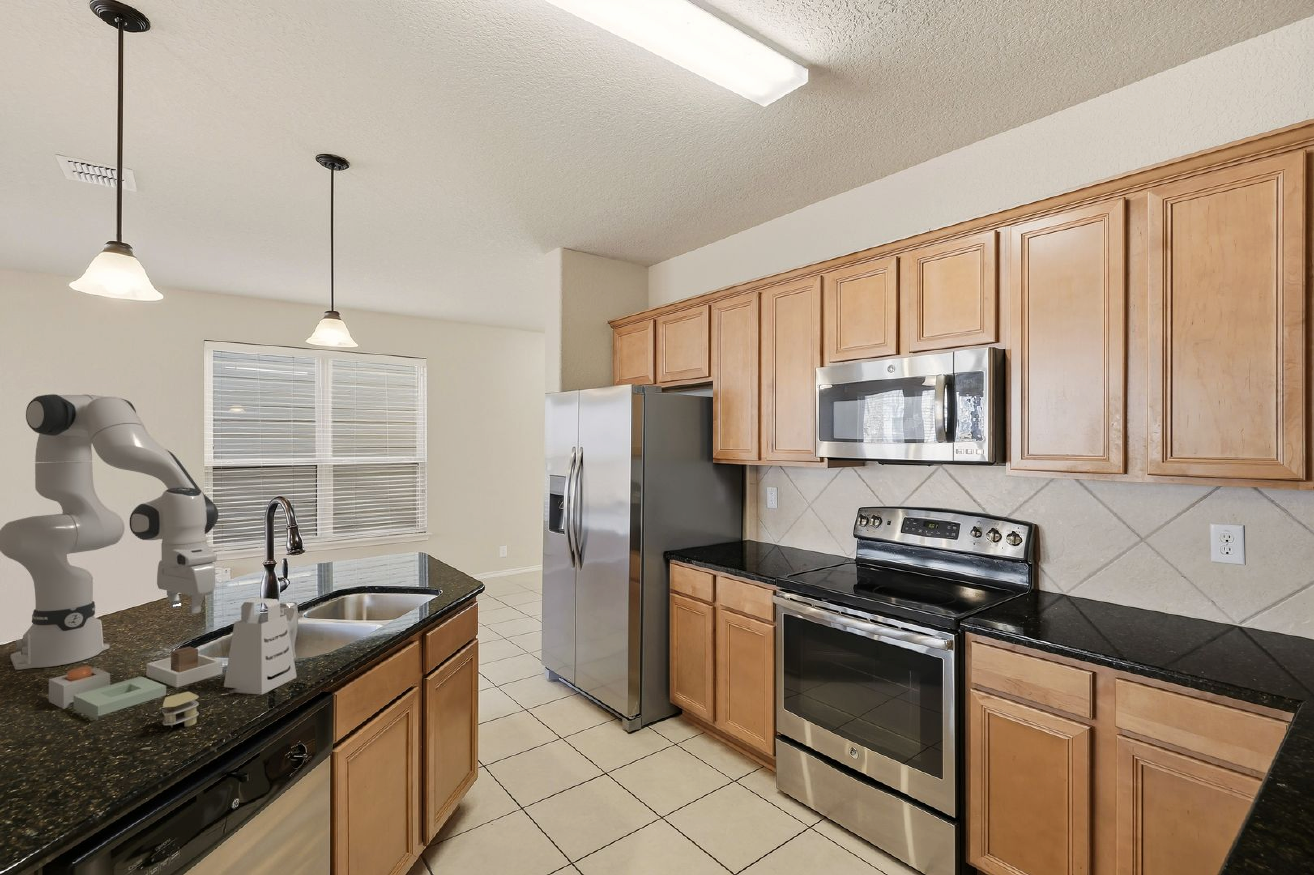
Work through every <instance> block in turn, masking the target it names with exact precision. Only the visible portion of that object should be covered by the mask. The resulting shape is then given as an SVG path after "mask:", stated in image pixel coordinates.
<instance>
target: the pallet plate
mask: <svg viewBox="0 0 1314 875" xmlns="http://www.w3.org/2000/svg"><path fill="white" fill-rule="evenodd" d="M166 695H167V685H166V684H165V685H164V684H162V683H159V682H158V681H156V680H152V679H148V678H146V677H144V676H141V675H140V676H137V677H133V678H130V679H126V680H123V681H120V682H116V683H111V684H110V685H108V686H105V687H101V688H98V689H94V690H90V691H87V692H83V693H80V694H76V695H74V702H73V705H74V706H73V710H74V711H77V712H78V713H81V714H83V715H85V716H88V717H89V718H91V719H94V720H95V721H97V722H98V721H102V720H103V718H102V717H100V716H104V715H107V714H109V713H113V712H117V711H119V710H122V709H125V708H129V707H132V706H135V705H139V704H142V703H146V702H148V701H152V700H155V699H157V698H158V699H159V698H161V697H164V696H166Z"/></svg>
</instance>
